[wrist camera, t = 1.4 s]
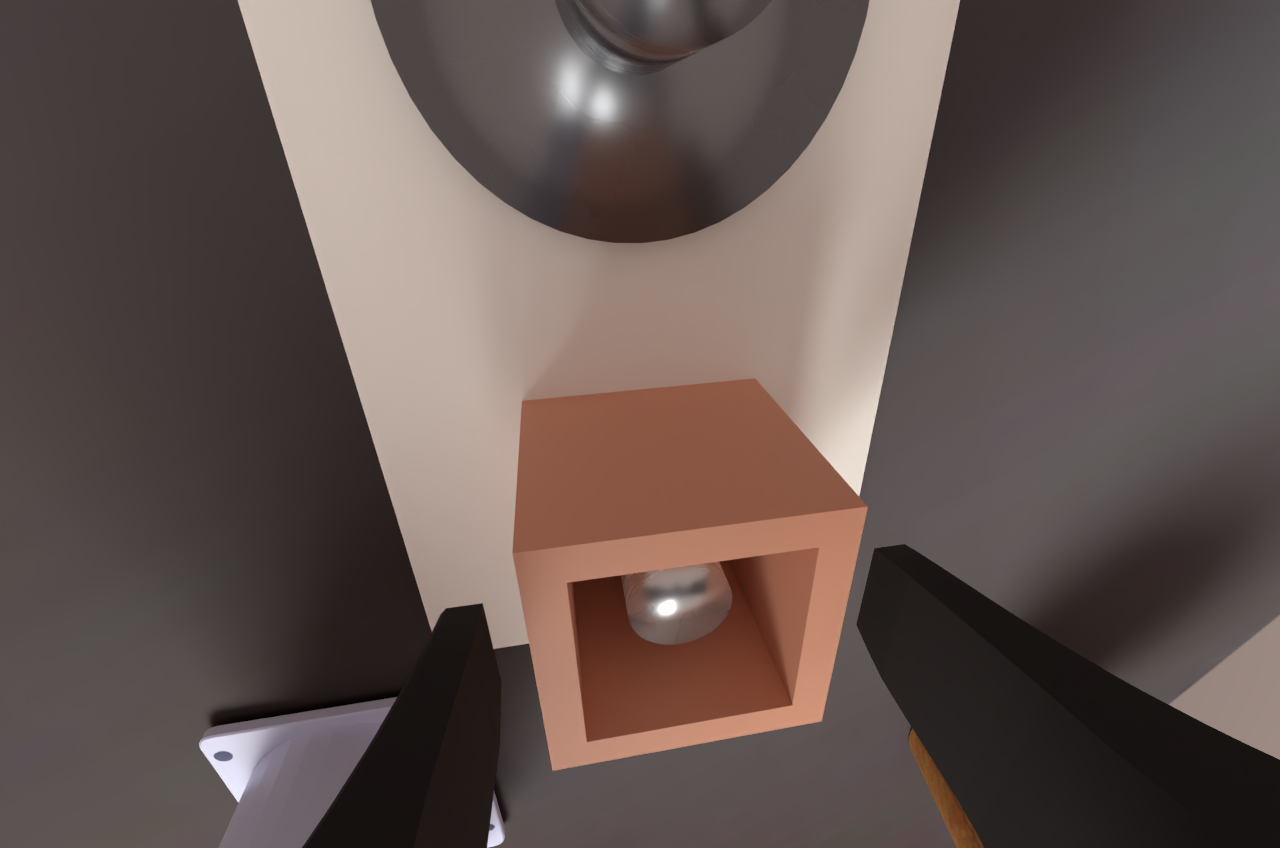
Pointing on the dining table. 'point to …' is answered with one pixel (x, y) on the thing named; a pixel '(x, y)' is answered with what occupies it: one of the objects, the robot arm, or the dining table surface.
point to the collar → (678, 565)
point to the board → (584, 279)
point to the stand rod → (677, 602)
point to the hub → (624, 101)
